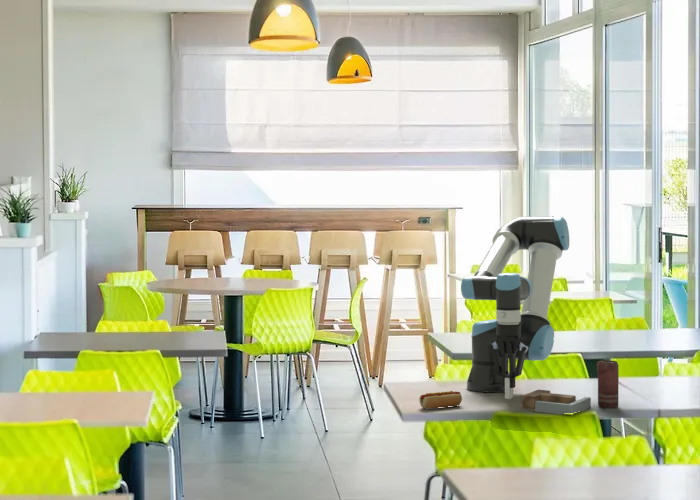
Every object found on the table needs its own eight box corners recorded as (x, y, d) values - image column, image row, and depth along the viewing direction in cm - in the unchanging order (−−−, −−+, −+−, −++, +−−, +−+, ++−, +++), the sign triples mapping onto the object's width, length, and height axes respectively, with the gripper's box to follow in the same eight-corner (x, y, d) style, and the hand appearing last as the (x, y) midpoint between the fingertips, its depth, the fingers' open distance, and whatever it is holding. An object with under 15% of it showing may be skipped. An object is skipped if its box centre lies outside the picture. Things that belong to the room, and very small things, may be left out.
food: (425, 411, 322) (425, 395, 322) (416, 408, 327) (416, 392, 327) (465, 407, 328) (465, 391, 328) (455, 404, 333) (455, 388, 333)
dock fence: (535, 411, 319) (535, 401, 319) (555, 403, 332) (555, 393, 332) (571, 415, 313) (571, 405, 313) (590, 407, 325) (590, 397, 325)
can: (594, 405, 328) (594, 360, 328) (614, 404, 329) (614, 359, 328) (600, 409, 322) (600, 363, 322) (621, 408, 323) (621, 362, 322)
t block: (522, 408, 325) (521, 395, 324) (538, 402, 335) (538, 389, 334) (565, 413, 317) (565, 399, 317) (580, 406, 327) (580, 393, 327)
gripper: (484, 323, 333) (484, 398, 334) (522, 325, 326) (523, 402, 327) (494, 320, 339) (495, 394, 341) (532, 322, 332) (533, 397, 334)
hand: (508, 397), depth 334 cm, fingers closed
